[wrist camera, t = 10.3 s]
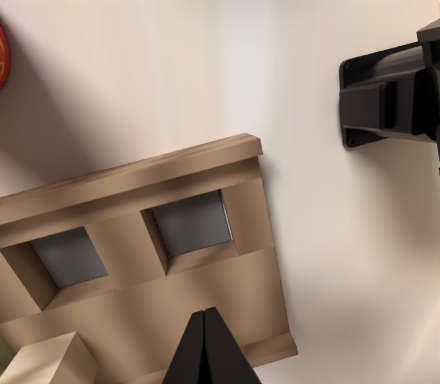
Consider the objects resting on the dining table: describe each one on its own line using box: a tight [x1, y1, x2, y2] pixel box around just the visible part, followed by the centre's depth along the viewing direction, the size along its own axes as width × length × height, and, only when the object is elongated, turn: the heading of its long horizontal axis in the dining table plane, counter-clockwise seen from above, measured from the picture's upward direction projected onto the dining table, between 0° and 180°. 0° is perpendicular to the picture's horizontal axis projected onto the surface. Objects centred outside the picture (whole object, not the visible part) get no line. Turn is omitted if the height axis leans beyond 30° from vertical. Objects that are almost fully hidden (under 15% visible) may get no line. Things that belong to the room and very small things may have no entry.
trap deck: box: [0, 133, 298, 384], centre depth 18 cm, size 24×20×6 cm
